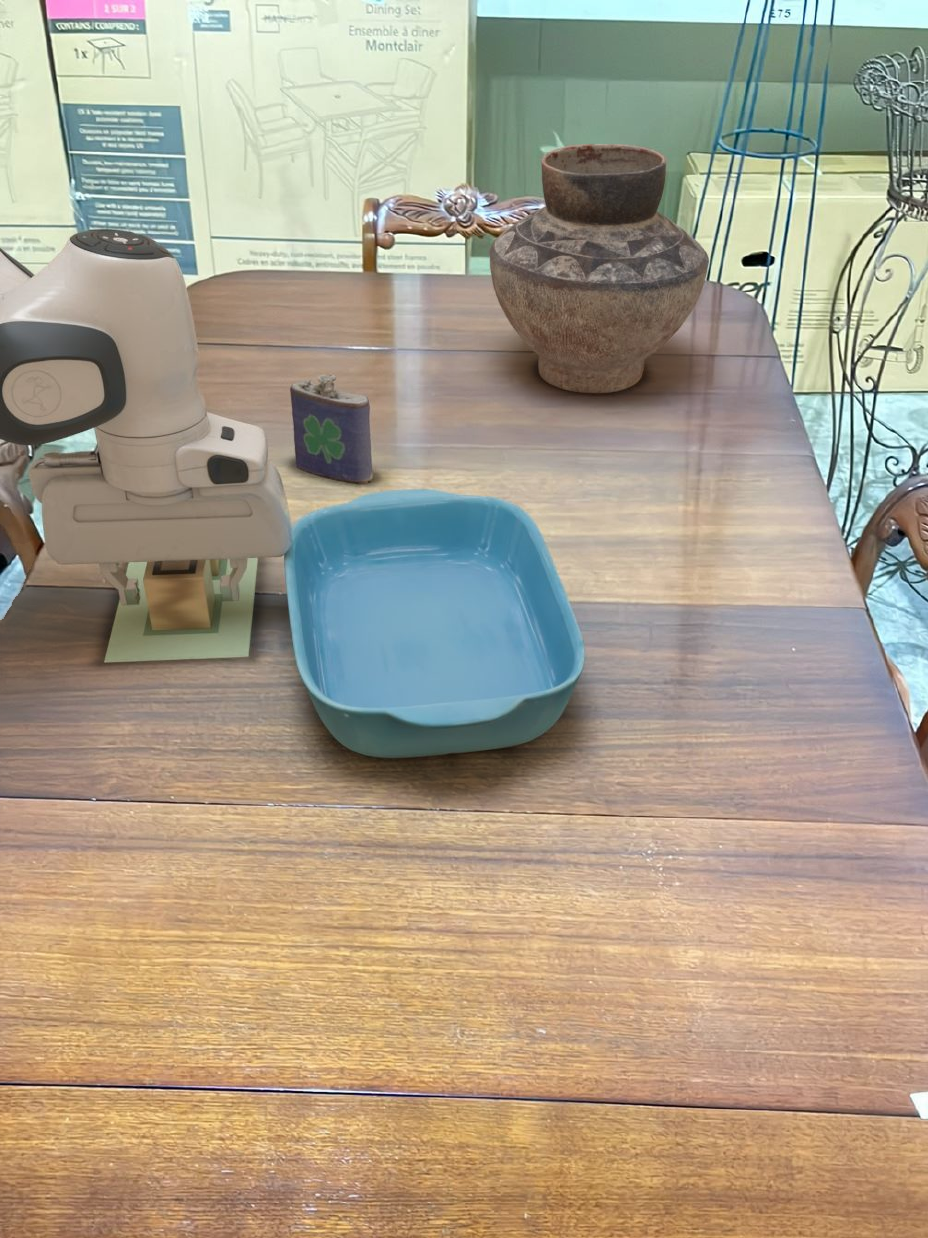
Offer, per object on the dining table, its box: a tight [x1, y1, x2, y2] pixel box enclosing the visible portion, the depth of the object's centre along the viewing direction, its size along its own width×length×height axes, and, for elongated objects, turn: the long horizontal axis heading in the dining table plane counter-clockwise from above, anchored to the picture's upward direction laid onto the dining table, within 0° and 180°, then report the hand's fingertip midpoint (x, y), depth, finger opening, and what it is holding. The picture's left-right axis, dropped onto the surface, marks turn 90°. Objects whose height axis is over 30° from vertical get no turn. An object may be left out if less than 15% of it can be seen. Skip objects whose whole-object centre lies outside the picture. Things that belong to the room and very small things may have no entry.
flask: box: [289, 373, 374, 485], centre depth 128 cm, size 9×3×11 cm, turn 61°
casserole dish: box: [283, 488, 586, 759], centre depth 103 cm, size 37×22×7 cm, turn 9°
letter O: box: [143, 560, 215, 631], centre depth 108 cm, size 5×5×5 cm
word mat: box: [103, 558, 259, 664], centre depth 113 cm, size 12×22×1 cm, turn 4°
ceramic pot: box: [488, 143, 710, 394], centre depth 144 cm, size 25×25×24 cm
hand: (181, 600), depth 109 cm, fingers open, 7 cm apart
